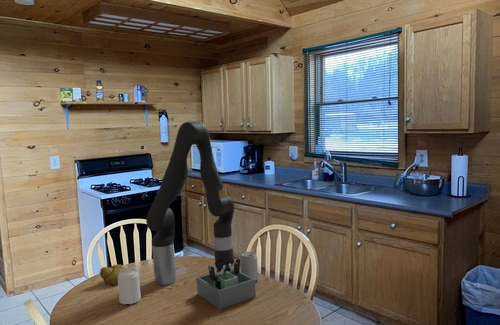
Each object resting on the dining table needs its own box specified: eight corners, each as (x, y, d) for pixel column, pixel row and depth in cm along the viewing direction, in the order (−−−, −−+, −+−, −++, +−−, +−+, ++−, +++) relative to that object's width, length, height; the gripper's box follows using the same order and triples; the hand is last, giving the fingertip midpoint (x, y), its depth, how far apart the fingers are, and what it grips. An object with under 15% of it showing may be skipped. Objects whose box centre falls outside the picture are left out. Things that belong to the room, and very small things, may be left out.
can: (256, 283, 170) (255, 256, 169) (239, 283, 171) (238, 256, 170) (259, 277, 177) (258, 251, 176) (243, 276, 179) (241, 250, 177)
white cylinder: (144, 297, 161) (142, 269, 160) (132, 306, 153) (130, 276, 152) (128, 295, 164) (125, 267, 162) (115, 304, 156) (112, 275, 155)
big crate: (197, 293, 162) (196, 277, 162) (231, 282, 172) (230, 267, 171) (220, 309, 148) (219, 291, 147) (255, 296, 158) (254, 279, 157)
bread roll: (116, 274, 188) (115, 258, 187) (134, 276, 185) (132, 259, 184) (98, 285, 176) (97, 268, 175) (117, 287, 173) (115, 269, 172)
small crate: (213, 288, 162) (213, 274, 161) (226, 284, 165) (225, 270, 165) (225, 295, 154) (224, 281, 154) (238, 291, 158) (237, 276, 157)
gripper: (233, 240, 165) (235, 279, 167) (203, 248, 157) (205, 289, 159) (243, 244, 159) (245, 285, 161) (212, 253, 151) (215, 295, 153)
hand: (225, 287), depth 160 cm, fingers closed on small crate, 6 cm apart
